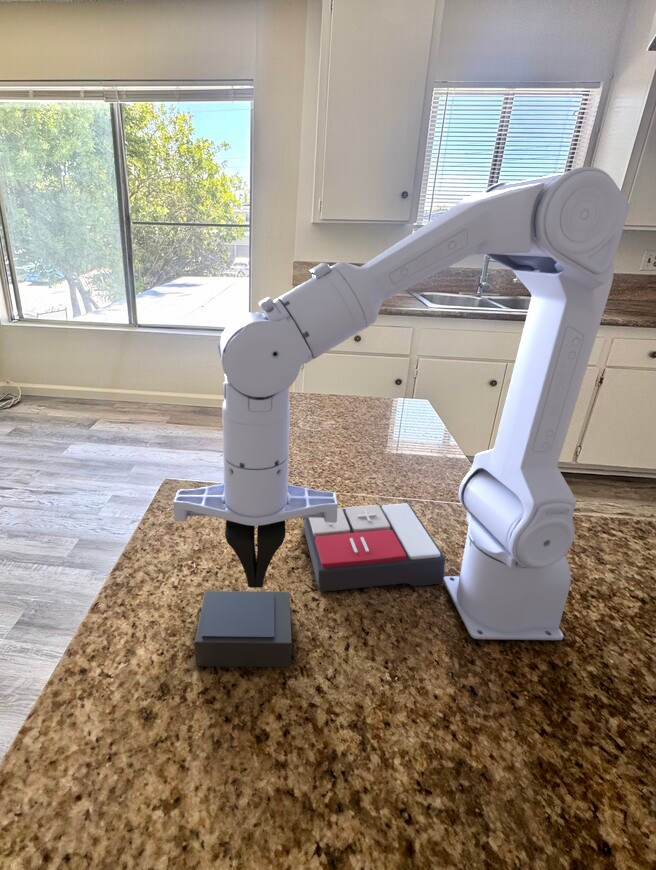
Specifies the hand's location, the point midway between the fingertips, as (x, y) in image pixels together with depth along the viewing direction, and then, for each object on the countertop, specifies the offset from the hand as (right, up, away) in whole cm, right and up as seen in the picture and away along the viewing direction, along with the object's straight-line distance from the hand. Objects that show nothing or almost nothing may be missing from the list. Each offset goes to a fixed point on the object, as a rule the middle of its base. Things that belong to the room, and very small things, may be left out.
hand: (255, 579), depth 40 cm
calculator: (+14, -4, +14) cm, 20 cm away
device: (+3, -6, +2) cm, 7 cm away
